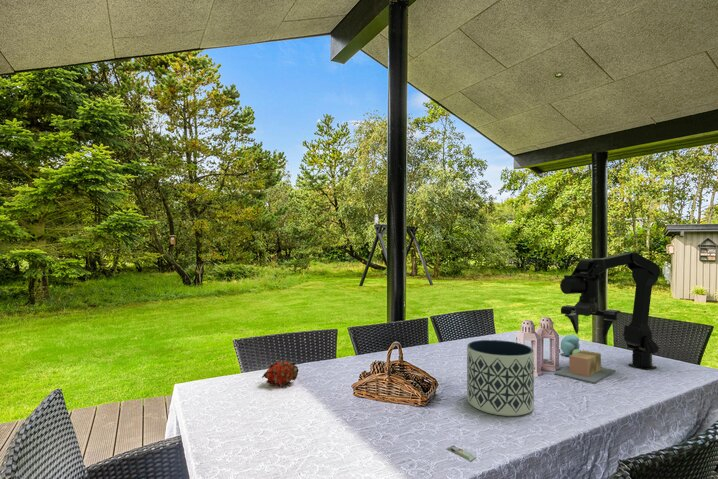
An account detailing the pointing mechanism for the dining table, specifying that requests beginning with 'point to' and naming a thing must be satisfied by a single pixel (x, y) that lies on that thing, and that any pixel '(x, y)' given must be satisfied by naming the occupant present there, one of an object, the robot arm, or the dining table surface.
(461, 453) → the granola bar
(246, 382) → the dining table surface
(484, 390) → the planter
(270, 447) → the dining table surface
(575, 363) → the oak block
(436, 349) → the dining table surface
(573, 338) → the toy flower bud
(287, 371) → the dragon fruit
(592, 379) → the charcoal mat
